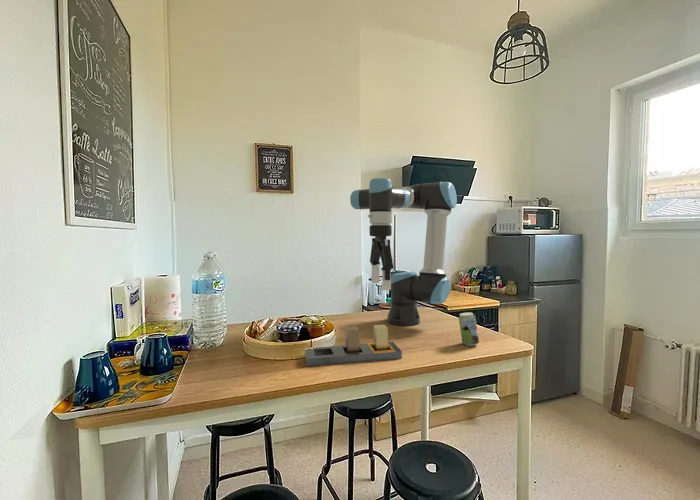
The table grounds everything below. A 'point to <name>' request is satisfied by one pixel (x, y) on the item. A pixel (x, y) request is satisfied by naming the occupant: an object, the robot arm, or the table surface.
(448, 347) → the table surface
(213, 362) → the table surface
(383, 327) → the pale yellow block
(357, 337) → the brown rectangular block
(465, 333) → the beverage can
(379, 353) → the grey peg insertion board
